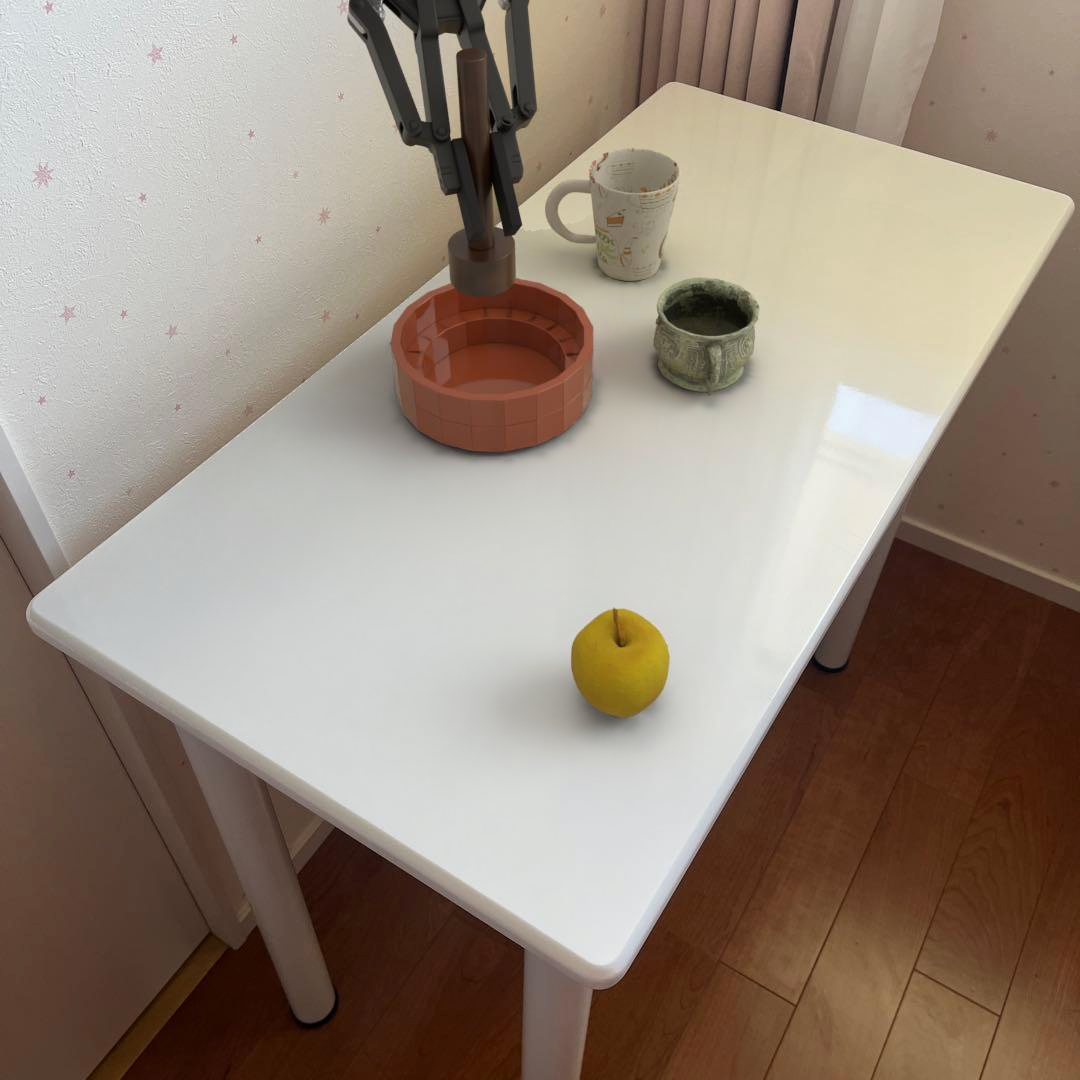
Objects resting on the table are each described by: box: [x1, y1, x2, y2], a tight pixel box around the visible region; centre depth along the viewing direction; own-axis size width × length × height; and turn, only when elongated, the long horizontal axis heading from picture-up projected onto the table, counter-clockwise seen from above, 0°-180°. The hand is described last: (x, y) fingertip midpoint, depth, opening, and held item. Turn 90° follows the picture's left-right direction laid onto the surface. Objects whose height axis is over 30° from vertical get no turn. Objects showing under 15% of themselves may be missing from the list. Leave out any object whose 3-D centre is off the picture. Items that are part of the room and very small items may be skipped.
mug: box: [544, 147, 681, 282], centre depth 105 cm, size 8×13×10 cm, turn 81°
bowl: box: [389, 277, 595, 453], centre depth 93 cm, size 17×17×6 cm
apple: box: [570, 607, 671, 718], centre depth 71 cm, size 6×6×8 cm
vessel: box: [653, 277, 760, 396], centre depth 95 cm, size 12×9×6 cm
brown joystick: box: [447, 48, 517, 297], centre depth 78 cm, size 5×5×17 cm
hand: (494, 233), depth 77 cm, fingers closed on brown joystick, 2 cm apart
